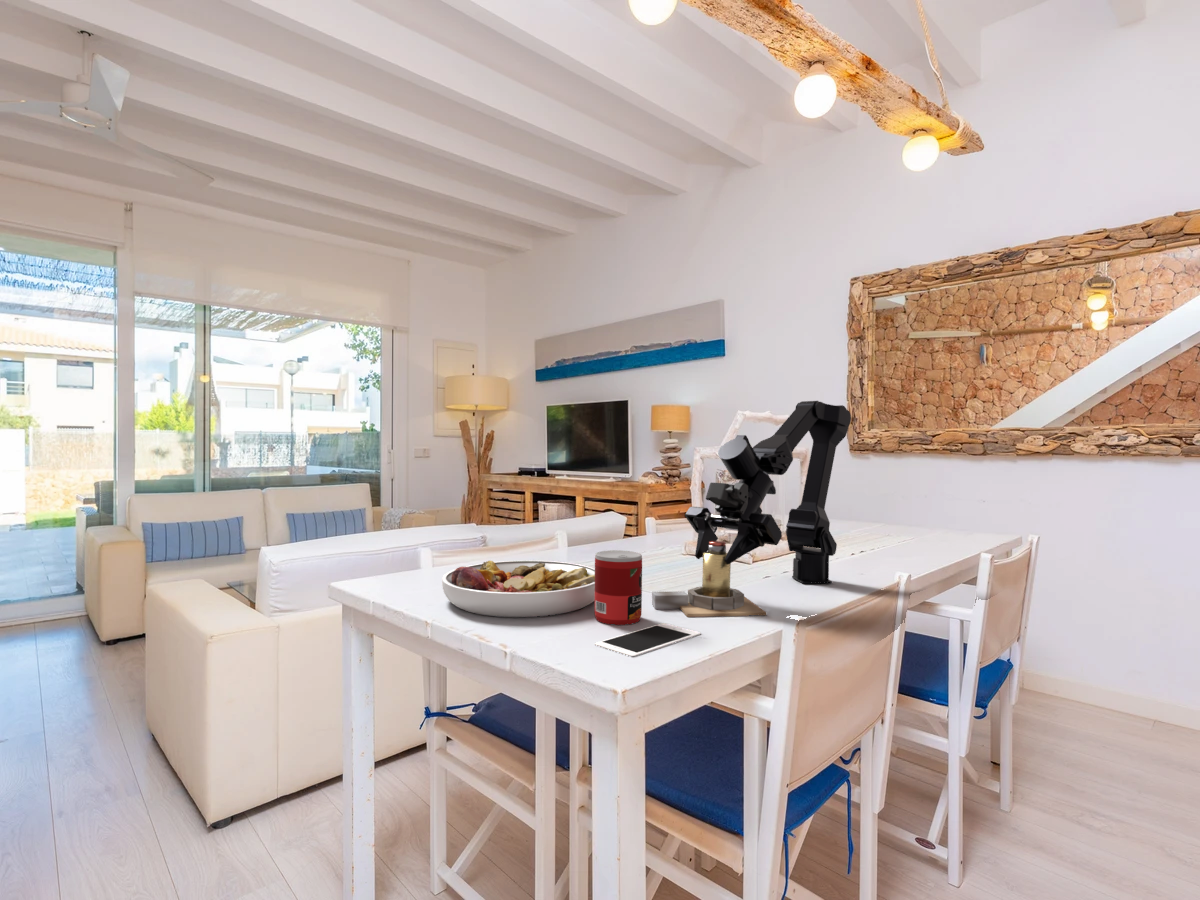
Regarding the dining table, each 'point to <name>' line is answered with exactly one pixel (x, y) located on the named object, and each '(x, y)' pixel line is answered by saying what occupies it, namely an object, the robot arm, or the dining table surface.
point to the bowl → (520, 588)
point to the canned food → (618, 587)
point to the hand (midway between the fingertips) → (711, 560)
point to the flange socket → (706, 603)
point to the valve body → (716, 571)
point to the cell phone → (647, 639)
